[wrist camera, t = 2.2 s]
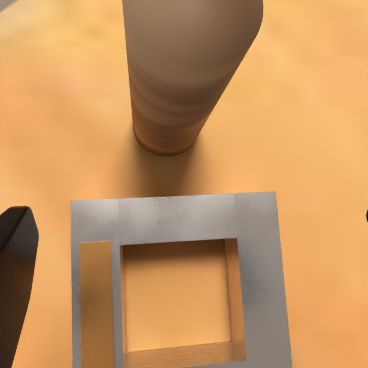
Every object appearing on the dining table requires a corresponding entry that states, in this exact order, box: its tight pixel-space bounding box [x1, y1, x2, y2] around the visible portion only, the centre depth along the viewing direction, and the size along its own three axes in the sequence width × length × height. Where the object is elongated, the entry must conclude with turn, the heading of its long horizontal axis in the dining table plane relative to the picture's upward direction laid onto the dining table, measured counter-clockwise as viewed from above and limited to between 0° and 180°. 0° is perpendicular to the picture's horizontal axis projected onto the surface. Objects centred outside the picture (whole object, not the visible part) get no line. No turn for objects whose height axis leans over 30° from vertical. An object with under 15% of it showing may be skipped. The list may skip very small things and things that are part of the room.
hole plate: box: [71, 192, 292, 368], centre depth 19 cm, size 12×12×3 cm
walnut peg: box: [122, 0, 263, 156], centre depth 16 cm, size 4×4×12 cm
